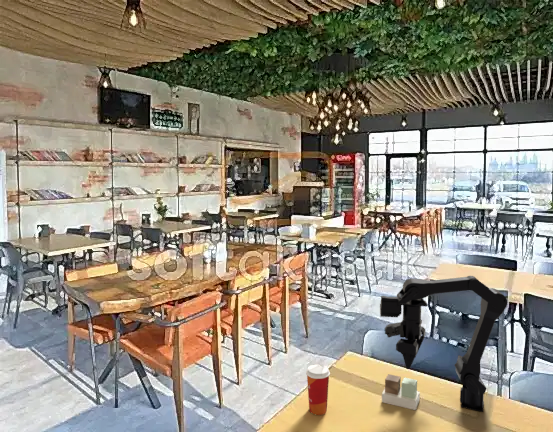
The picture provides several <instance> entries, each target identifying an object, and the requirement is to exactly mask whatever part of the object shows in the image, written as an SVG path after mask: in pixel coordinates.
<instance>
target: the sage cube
mask: <svg viewBox="0 0 553 432" xmlns="http://www.w3.org/2000/svg"><path fill="white" fill-rule="evenodd" d="M400 387H401V396H404V397H408V398H413V399H415V396H416V394H417V391H418V380H417V379H414V378H409V377H403V379H402V381H401V383H400Z"/></svg>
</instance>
